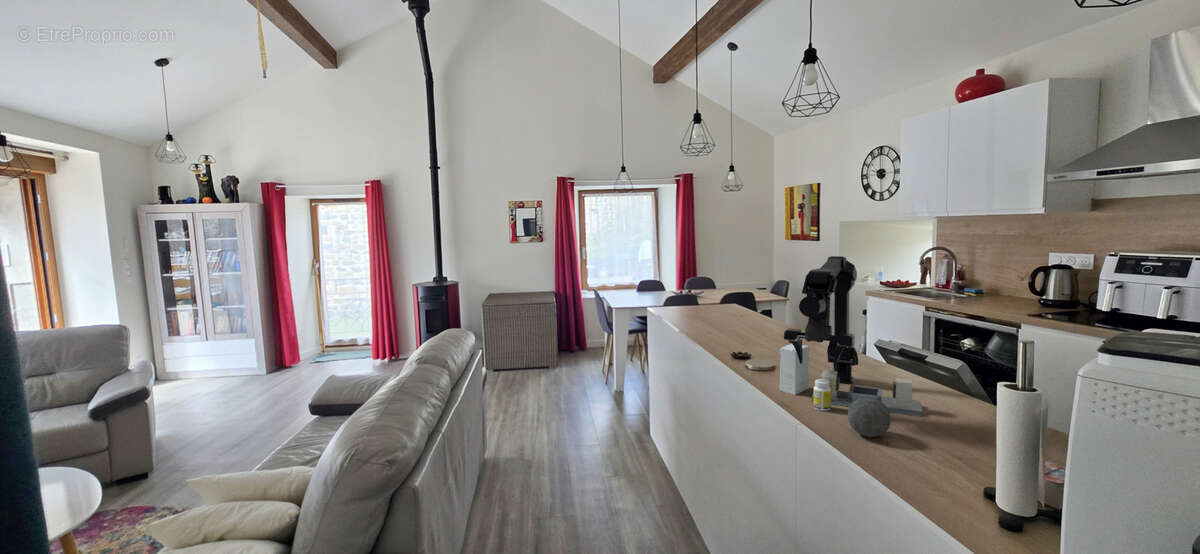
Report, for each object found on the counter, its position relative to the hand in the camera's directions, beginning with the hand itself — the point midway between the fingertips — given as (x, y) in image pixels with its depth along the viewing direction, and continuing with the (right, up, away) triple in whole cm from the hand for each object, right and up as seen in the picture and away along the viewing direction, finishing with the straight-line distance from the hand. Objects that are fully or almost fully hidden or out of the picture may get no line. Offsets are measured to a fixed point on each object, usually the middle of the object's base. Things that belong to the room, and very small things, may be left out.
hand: (817, 365), depth 155 cm
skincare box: (-1, -11, +17) cm, 20 cm away
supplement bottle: (+2, -13, +1) cm, 13 cm away
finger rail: (+16, -12, +3) cm, 20 cm away
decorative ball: (+6, -15, -18) cm, 25 cm away
